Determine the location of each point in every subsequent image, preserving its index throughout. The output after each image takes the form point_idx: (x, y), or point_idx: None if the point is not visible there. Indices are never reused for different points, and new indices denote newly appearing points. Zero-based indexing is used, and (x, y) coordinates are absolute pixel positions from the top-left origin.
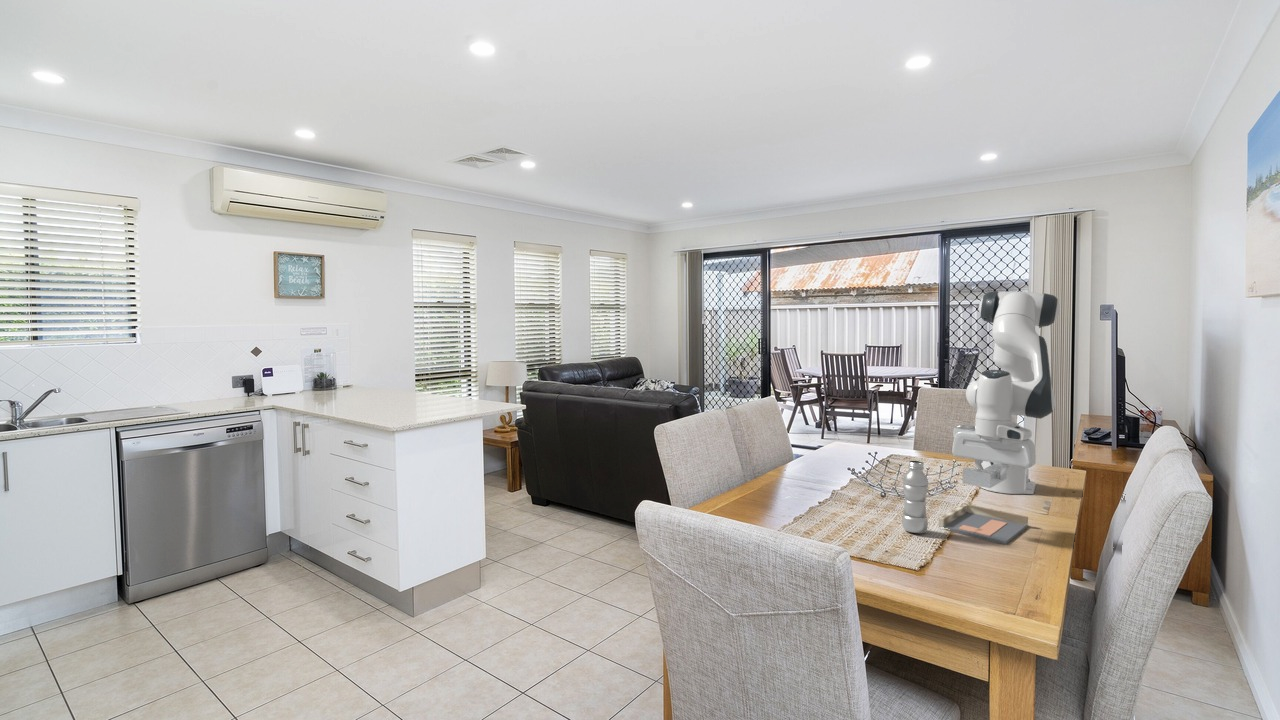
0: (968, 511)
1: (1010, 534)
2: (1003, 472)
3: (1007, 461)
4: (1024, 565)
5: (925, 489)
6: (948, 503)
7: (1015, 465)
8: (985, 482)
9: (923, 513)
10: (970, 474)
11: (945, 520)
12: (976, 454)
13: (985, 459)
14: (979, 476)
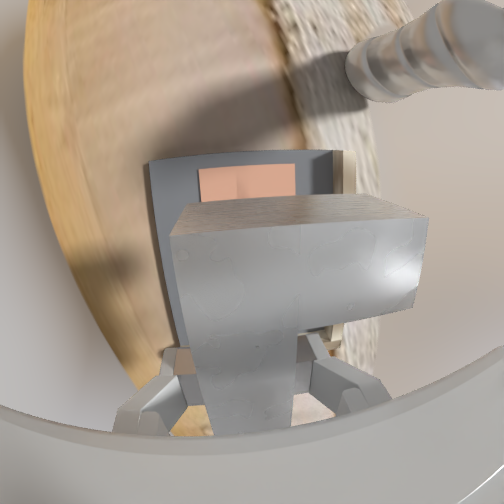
0: (321, 331)
1: (166, 239)
2: (149, 382)
3: (81, 450)
4: (76, 62)
5: (428, 19)
6: (371, 359)
7: (38, 418)
8: (220, 206)
9: (375, 45)
10: (354, 208)
11: (339, 169)
12: (413, 438)
13: (308, 436)
14: (278, 214)
